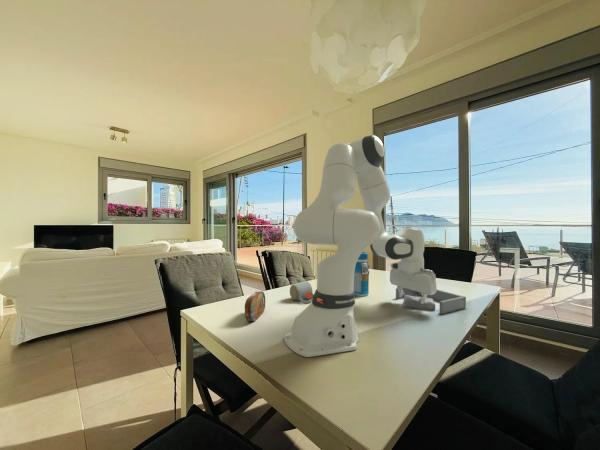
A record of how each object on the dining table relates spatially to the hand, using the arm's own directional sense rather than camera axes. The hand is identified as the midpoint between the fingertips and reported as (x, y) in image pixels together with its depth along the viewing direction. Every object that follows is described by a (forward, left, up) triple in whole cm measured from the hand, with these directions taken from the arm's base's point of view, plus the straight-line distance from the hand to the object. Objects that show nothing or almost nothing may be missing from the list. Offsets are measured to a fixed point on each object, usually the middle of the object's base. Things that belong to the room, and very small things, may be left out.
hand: (411, 299), depth 109 cm
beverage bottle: (-7, +24, -3) cm, 25 cm away
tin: (-61, +19, -3) cm, 64 cm away
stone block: (+4, 0, -3) cm, 5 cm away
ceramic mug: (-36, +28, -3) cm, 46 cm away
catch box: (+10, 0, -3) cm, 11 cm away
